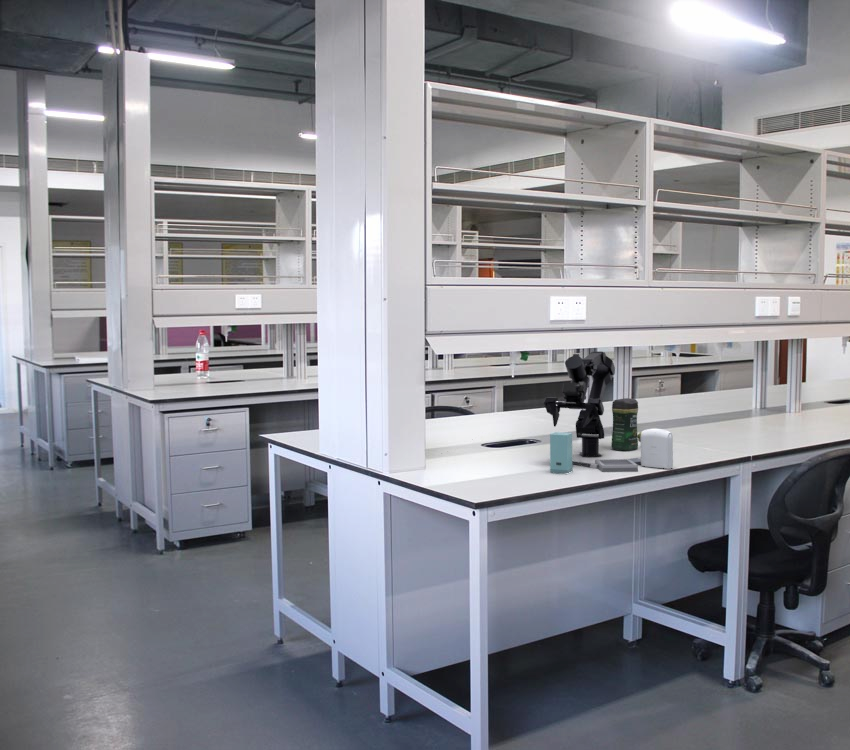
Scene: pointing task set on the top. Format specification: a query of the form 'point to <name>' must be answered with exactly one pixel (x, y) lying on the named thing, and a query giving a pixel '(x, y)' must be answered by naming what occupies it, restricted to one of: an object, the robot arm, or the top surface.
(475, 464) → the top surface
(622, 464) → the tray
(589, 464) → the pen
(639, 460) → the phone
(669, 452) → the photo printer
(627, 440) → the coffee jar
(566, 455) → the charger
